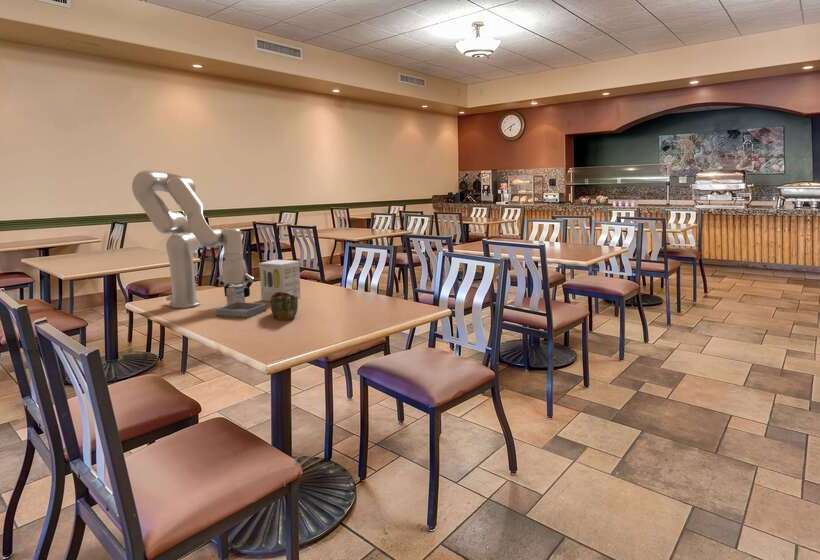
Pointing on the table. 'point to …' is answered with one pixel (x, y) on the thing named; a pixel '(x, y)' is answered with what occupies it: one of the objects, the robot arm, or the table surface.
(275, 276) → the supplement box
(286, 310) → the cup
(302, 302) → the table surface
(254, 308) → the tray
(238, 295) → the medicine box
